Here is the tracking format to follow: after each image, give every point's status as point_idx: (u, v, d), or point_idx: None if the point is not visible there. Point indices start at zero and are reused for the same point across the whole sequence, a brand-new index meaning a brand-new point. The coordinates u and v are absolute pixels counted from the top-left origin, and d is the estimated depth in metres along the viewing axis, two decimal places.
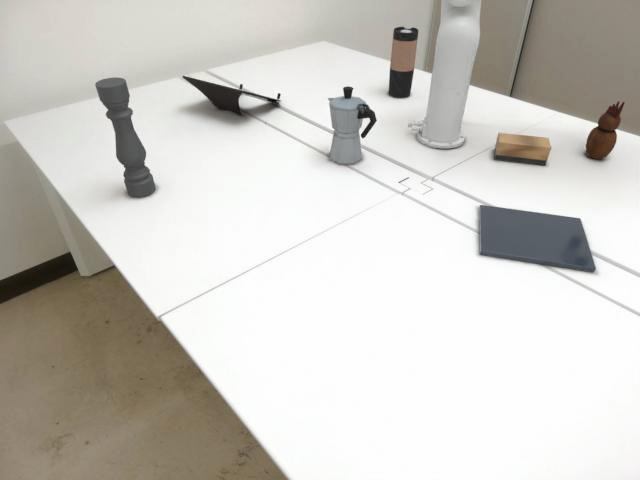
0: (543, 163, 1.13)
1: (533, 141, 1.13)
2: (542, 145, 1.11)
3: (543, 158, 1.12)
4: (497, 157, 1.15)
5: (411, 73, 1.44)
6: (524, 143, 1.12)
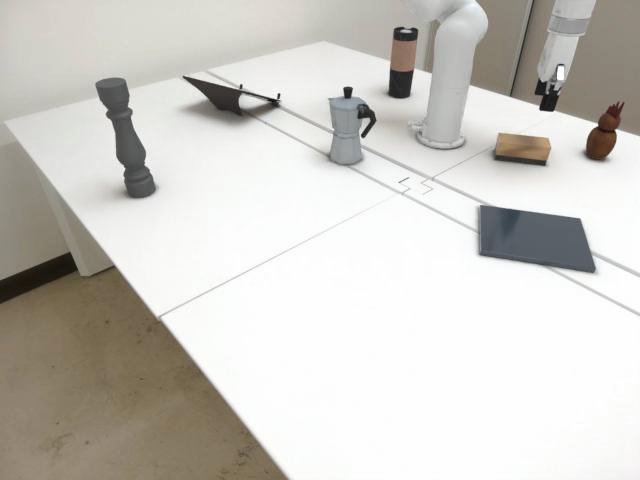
0: (543, 163, 1.13)
1: (533, 141, 1.13)
2: (542, 145, 1.11)
3: (543, 158, 1.12)
4: (497, 157, 1.15)
5: (411, 73, 1.44)
6: (524, 143, 1.12)
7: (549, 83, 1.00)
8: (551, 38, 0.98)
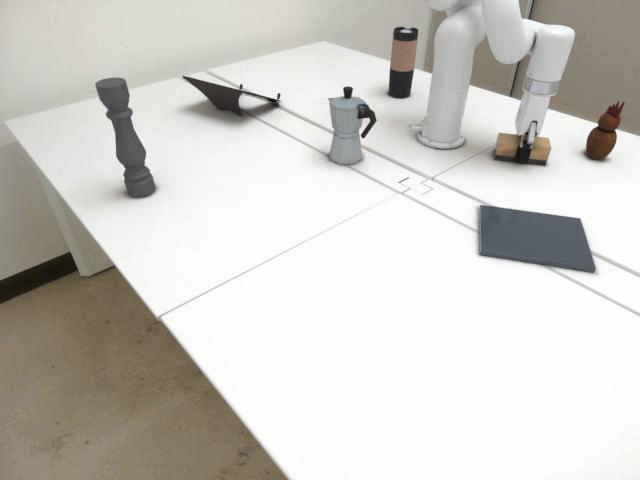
0: (543, 163, 1.13)
1: None
2: (542, 145, 1.11)
3: (543, 158, 1.12)
4: (497, 157, 1.15)
5: (411, 73, 1.44)
6: None
7: (523, 138, 1.09)
8: (525, 96, 1.06)
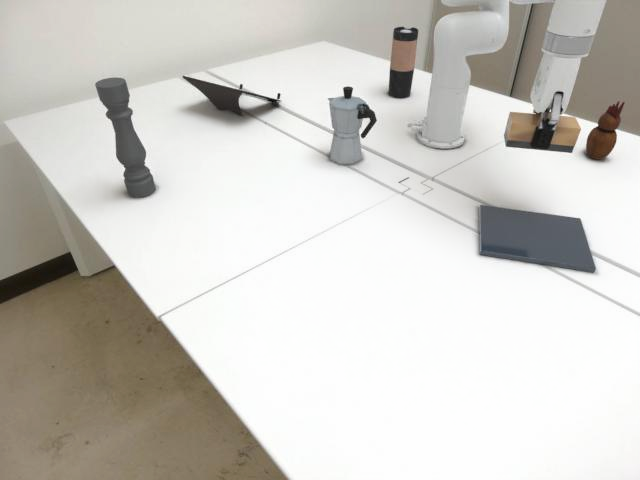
0: (569, 150, 0.86)
1: None
2: (568, 126, 0.84)
3: (570, 143, 0.85)
4: (509, 143, 0.88)
5: (411, 73, 1.44)
6: None
7: (543, 117, 0.83)
8: (547, 60, 0.79)
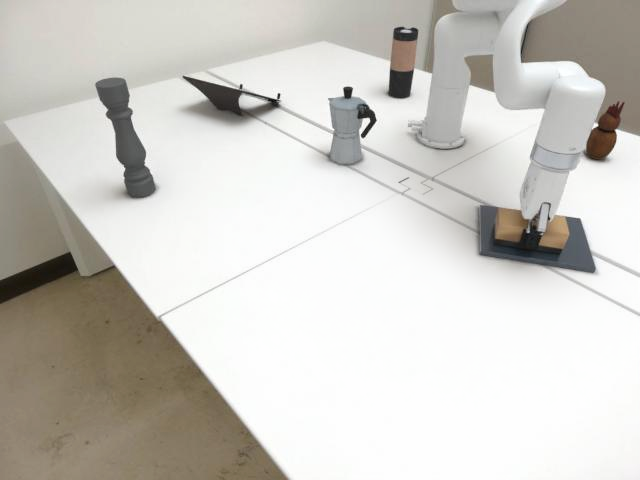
0: (558, 251, 0.85)
1: None
2: (557, 229, 0.83)
3: (558, 246, 0.84)
4: (497, 241, 0.87)
5: (411, 73, 1.44)
6: None
7: (530, 222, 0.81)
8: (534, 169, 0.78)
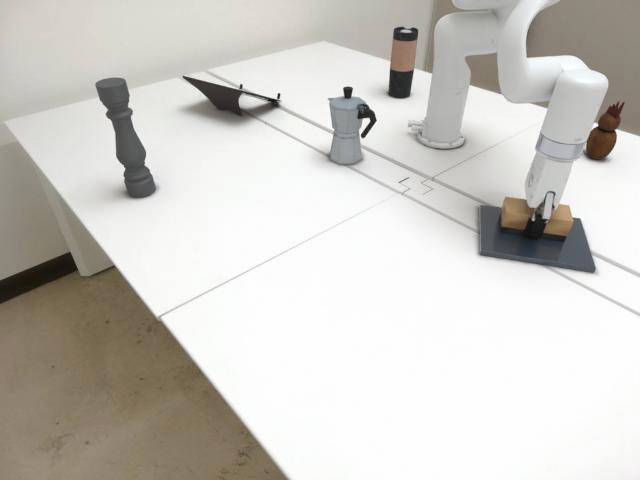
0: (562, 239, 0.88)
1: None
2: (561, 217, 0.86)
3: (562, 233, 0.87)
4: (503, 229, 0.90)
5: (411, 73, 1.44)
6: None
7: (535, 211, 0.84)
8: (540, 159, 0.81)
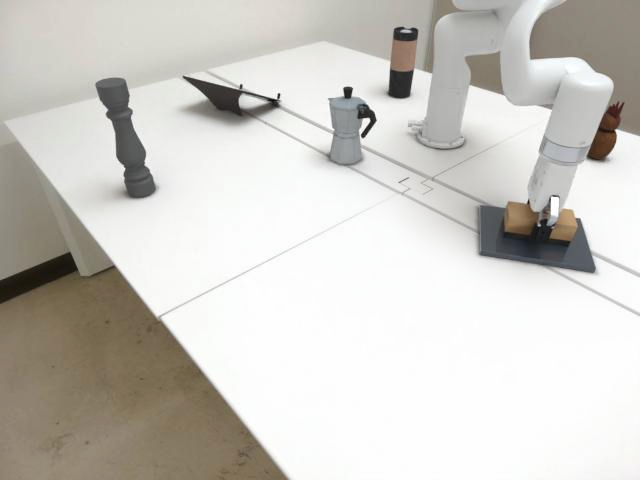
0: (566, 244, 0.87)
1: None
2: (565, 222, 0.85)
3: (566, 238, 0.86)
4: (506, 234, 0.89)
5: (411, 73, 1.44)
6: None
7: (541, 214, 0.82)
8: (543, 162, 0.80)
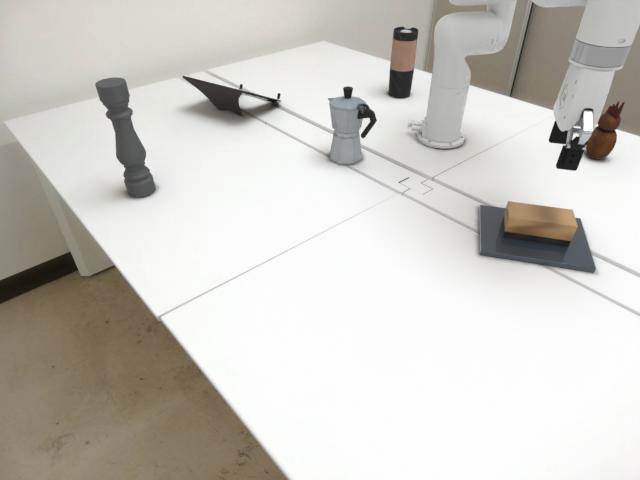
0: (566, 244, 0.87)
1: (553, 215, 0.86)
2: (565, 222, 0.85)
3: (566, 238, 0.86)
4: (506, 234, 0.89)
5: (411, 73, 1.44)
6: (541, 219, 0.85)
7: (571, 133, 0.72)
8: (574, 72, 0.70)
